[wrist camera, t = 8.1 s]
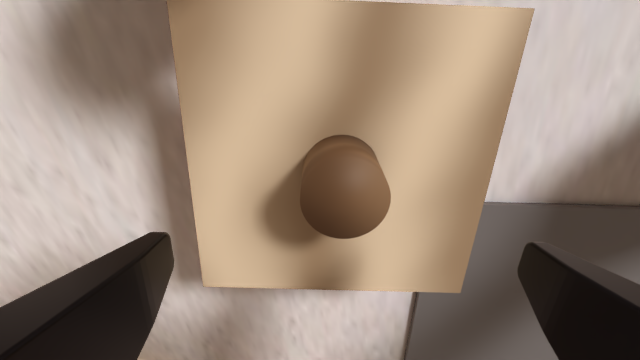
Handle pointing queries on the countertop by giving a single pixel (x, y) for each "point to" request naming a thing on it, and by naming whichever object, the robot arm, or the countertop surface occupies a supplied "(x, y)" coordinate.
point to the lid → (341, 137)
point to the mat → (517, 279)
